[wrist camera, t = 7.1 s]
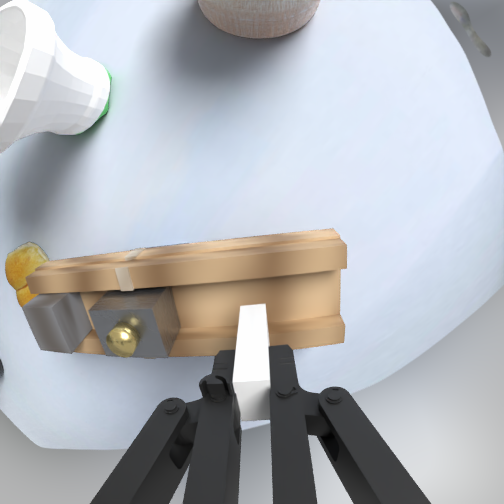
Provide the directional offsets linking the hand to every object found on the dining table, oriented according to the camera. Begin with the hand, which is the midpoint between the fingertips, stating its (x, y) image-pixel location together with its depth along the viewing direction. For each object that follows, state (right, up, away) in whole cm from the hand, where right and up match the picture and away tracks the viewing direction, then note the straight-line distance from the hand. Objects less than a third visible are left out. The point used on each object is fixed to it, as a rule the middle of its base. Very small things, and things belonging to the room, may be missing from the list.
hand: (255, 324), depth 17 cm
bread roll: (-27, +2, +10) cm, 29 cm away
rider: (-8, 0, +4) cm, 9 cm away
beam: (-7, +2, +9) cm, 12 cm away
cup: (-17, +19, +4) cm, 26 cm away
